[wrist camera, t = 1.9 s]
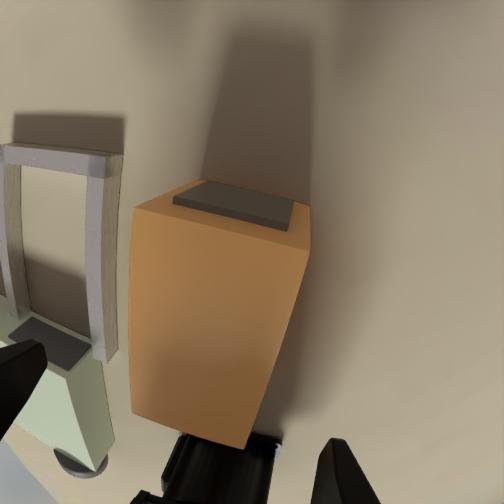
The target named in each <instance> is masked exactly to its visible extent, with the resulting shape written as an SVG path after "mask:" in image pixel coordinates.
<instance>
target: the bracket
mask: <svg viewBox="0 0 504 504" xmlns="http://www.w3.org/2000/svg"><path fill="white" fill-rule="evenodd" d="M122 160H123V154H117V153H109V152H102V151H94V150H86V149H77V148H68V147H59V146H49V145H38V144H26V143H7V144H0V260H1V267H2V274H3V280H4V286H5V291H6V296H7V302H8V306H9V311H10V316H12V317H14V318H15V319H17V320H20V319H21V318H23V317H24V316H25V315H27V314H28V313H29V312H31V306H30V300H29V294H28V288H27V281H26V273H25V265H24V255H23V244H22V230H21V207H20V172H21V165H23V166H30V167H37V168H43V169H49V170H55V171H61V172H67V173H73V174H79V175H85V176H87V191H86V219H85V257H86V284H87V300H88V313H89V324H90V334H91V342H92V350H93V358H94V359H97V360H99V361H101V362H104V363H106V364H107V363H108V362H109V361H110V359H111V358H112V357H113V356H114V355H115V353H116V352H117V351H118V340H117V318H116V240H117V219H118V203H119V190H120V179H121V169H122Z"/></svg>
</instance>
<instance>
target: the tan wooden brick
mask: <svg viewBox="0 0 504 504" xmlns="http://www.w3.org/2000/svg"><path fill="white" fill-rule="evenodd" d="M309 255H310V206H308V205H304V204H300V203H296V202H294V201H292V200H288V199H285V198H281V197H276V196H272V195H268V194H264V193H260V192H256V191H252V190H247V189H243V188H239V187H234V186H230V185H226V184H221V183H217V182H212V181H203V180H197V181H195V182H192V183H190V184H188V185H185V186H183V187H180V188H178V189H175V190H173V191H171V192H168V193H166V194H164V195H161V196H159V197H157V198H154V199H152V200H150V201H148V202H145V203H143V204H141V205H138V206H136V207H134V213H133V224H132V237H131V252H130V271H129V306H128V339H129V373H130V392H131V406H132V413H134V414H136V415H139V416H141V417H144V418H146V419H149V420H151V421H154V422H157V423H159V424H162V425H165V426H167V427H170V428H173V429H176V430H179V431H182V432H185V433H188V434H191V435H194V436H197V437H200V438H203V439H207V440H210V441H213V442H217V443H220V444H224V445H228V446H231V447H235V448H239V449H243V450H244V448H245V445H246V442H247V440H248V437H249V435H250V432H251V429H252V427H253V424H254V421H255V419H256V416H257V413H258V410H259V408H260V405H261V402H262V399H263V397H264V394H265V391H266V388H267V385H268V383H269V380H270V377H271V374H272V371H273V368H274V365H275V362H276V359H277V356H278V353H279V350H280V347H281V344H282V341H283V338H284V335H285V332H286V329H287V326H288V323H289V320H290V317H291V314H292V311H293V307H294V304H295V301H296V298H297V295H298V291H299V288H300V285H301V282H302V278H303V275H304V272H305V268H306V265H307V261H308V258H309Z"/></svg>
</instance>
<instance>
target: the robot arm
mask: <svg viewBox="0 0 504 504" xmlns="http://www.w3.org/2000/svg"><path fill="white" fill-rule="evenodd" d="M47 366H48V359H47V355H46V351H45V347H44V344H43V343H42V342H40V341H38V340H37V339H34V338H32V339H28V340H25V341H22V342H18V343H15V344H12V345H8V346H5V347H2V348H0V441H1V439H2V438H3V436H4V435H5V433H6V432H7V430H8V429H9V427H10V426H11V424H12V423H13V422H14V420H15V419H16V417H17V416H18V414H19V413H20V411H21V410H22V409H23V407H24V406H25V404H26V403H27V401H28V400H29V398H30V396H31V394H32V393H33V391H34V389H35V387H36V386H37V384H38V382H39V380H40V379H41V377H42V375H43V374H44V372H45V370H46V368H47ZM281 448H282V441H281V440H279V439H276V438H271V437H266V436H262V435H257V434H253V433H250V435H249V437H248V440H247V442H246V445H245V448H244V450H243V449H239V448H235V447H231V446H228V445H224V444H220V443H217V442H213V441H210V440H207V439H203V438H200V437H197V436H194V435H191V434H188V433H187V435H186V436H184V435H182V436H179V438H178V440H177V442H176V445H175V447H174V449H173V451H172V454H171V456H170V458H169V460H168V463H167V465H166V467H165V469H164V472H163V474H162V476H161V484H162V491H163V493H164V494H163V496H162V497H159V496H155V495H152V494H150V492H147V491H144V490H141V491H140V492H139V493H138V495H137V496H136V497H135V498H133V500H132V501H131V503H130V504H267V500H268V495H269V489H270V483H271V478H272V472H273V466H274V462H275V460H276V458H277V456H278V454H279V452H280V450H281ZM311 504H381V503H380V501H379V499H378V498H377V496H376V494H375V492H374V490H373V489H372V487H371V485H370V483H369V482H368V480H367V478H366V476H365V474H364V473H363V471H362V469H361V467H360V465H359V464H358V462H357V460H356V458H355V457H354V455H353V453H352V451H351V449H350V448H349V446H348V444H347V442H346V441H345V440H344V439H338V438H331V439H329V441H328V442H327V444H326V445H325V447H324V448H323V450H322V451H321V453H320V455H319V459H318V465H317V470H316V476H315V482H314V487H313V492H312V498H311Z"/></svg>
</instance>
